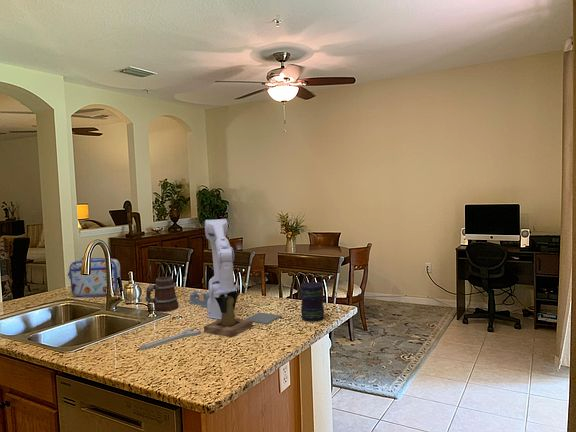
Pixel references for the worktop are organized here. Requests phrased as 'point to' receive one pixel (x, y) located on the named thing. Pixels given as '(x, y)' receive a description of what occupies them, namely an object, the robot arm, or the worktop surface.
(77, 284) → the lunch box
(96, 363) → the worktop surface
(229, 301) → the olive brown rounded piece
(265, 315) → the rubber mat
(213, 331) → the walnut holder
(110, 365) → the worktop surface
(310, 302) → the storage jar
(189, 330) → the adjustable wrench
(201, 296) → the vise
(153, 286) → the mug
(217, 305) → the robot arm
